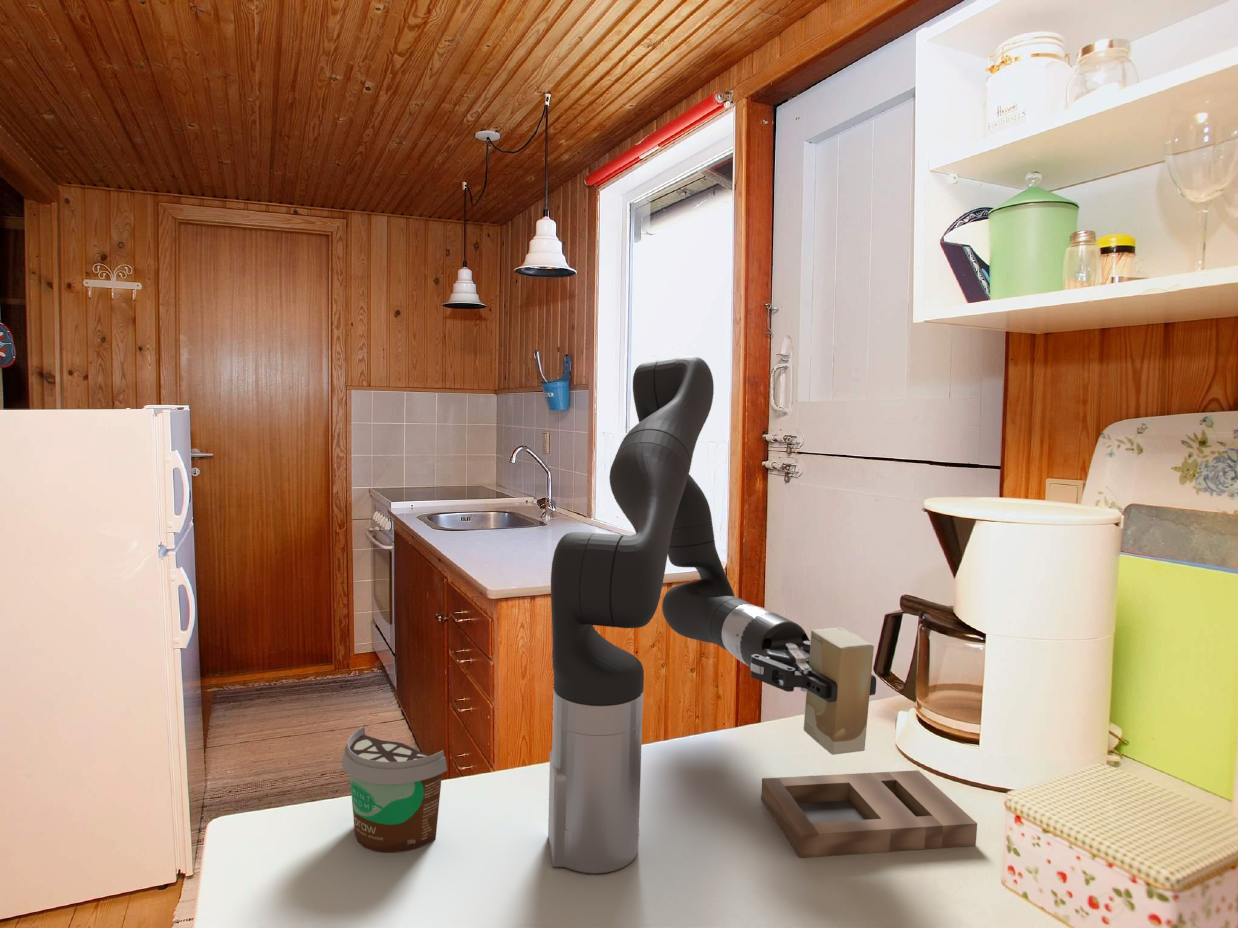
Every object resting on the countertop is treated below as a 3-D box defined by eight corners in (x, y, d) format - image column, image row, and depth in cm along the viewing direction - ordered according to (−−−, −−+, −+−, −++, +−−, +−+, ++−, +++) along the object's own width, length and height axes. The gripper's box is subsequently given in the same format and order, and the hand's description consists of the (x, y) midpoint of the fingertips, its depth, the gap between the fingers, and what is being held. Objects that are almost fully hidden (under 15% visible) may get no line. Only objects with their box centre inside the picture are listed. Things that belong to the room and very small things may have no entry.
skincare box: (801, 731, 91) (808, 627, 90) (834, 727, 93) (841, 625, 91) (833, 757, 85) (840, 646, 84) (867, 752, 87) (875, 643, 85)
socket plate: (799, 857, 83) (800, 834, 82) (760, 798, 94) (762, 778, 94) (975, 845, 86) (977, 823, 86) (917, 789, 98) (918, 770, 97)
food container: (316, 837, 84) (315, 746, 83) (360, 810, 89) (360, 724, 88) (405, 873, 78) (405, 775, 77) (446, 842, 84) (447, 751, 83)
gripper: (716, 617, 98) (802, 664, 82) (811, 606, 104) (907, 648, 88) (713, 676, 99) (798, 733, 83) (807, 662, 104) (903, 713, 89)
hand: (854, 689), depth 86 cm, fingers closed on skincare box, 4 cm apart
